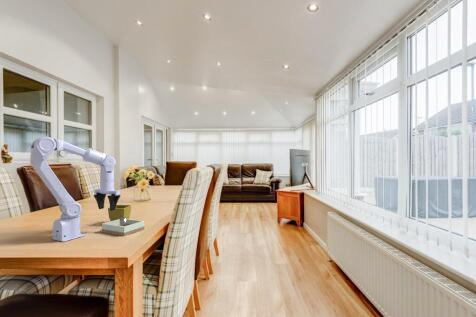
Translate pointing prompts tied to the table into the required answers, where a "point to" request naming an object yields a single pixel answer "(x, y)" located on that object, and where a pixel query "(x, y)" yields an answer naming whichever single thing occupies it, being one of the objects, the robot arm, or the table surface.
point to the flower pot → (119, 212)
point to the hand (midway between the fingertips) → (106, 209)
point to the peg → (123, 221)
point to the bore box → (122, 227)
